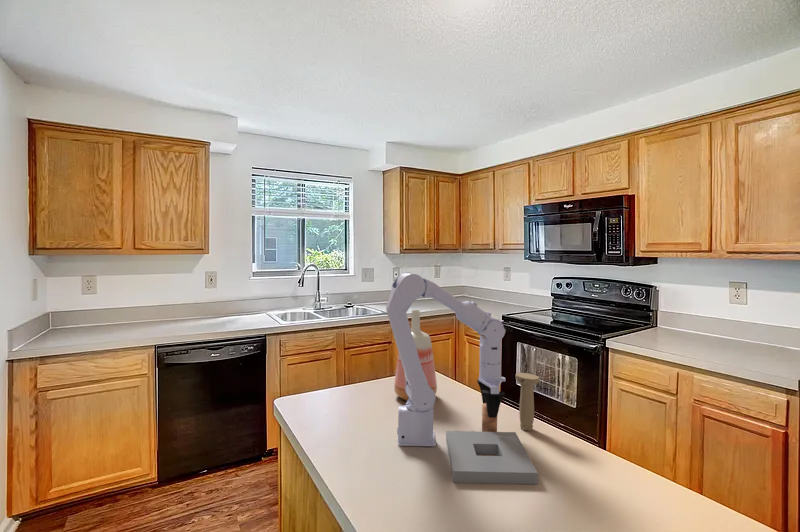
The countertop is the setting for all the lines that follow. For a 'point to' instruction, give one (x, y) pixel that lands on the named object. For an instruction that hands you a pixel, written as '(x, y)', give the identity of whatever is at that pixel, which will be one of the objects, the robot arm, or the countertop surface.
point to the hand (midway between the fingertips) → (489, 411)
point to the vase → (425, 357)
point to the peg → (488, 421)
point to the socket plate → (489, 458)
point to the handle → (527, 399)
